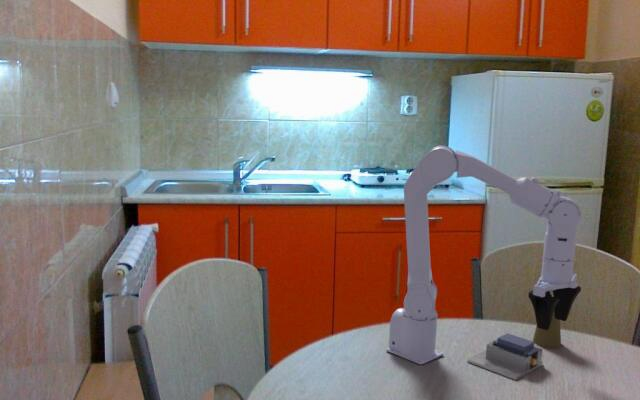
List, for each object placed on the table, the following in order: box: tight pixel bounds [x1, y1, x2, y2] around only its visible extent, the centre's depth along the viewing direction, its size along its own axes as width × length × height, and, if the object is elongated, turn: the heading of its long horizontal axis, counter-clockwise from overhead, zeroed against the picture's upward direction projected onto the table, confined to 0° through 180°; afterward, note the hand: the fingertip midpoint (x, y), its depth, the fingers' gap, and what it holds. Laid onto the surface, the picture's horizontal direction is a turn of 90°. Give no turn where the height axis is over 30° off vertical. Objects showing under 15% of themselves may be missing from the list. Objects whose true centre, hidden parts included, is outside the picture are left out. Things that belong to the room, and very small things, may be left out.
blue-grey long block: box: [492, 333, 539, 365], centre depth 126 cm, size 9×4×4 cm, turn 43°
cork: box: [532, 294, 562, 349], centre depth 138 cm, size 6×6×11 cm
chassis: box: [466, 341, 544, 381], centre depth 127 cm, size 11×11×4 cm
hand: (552, 324), depth 122 cm, fingers open, 7 cm apart
